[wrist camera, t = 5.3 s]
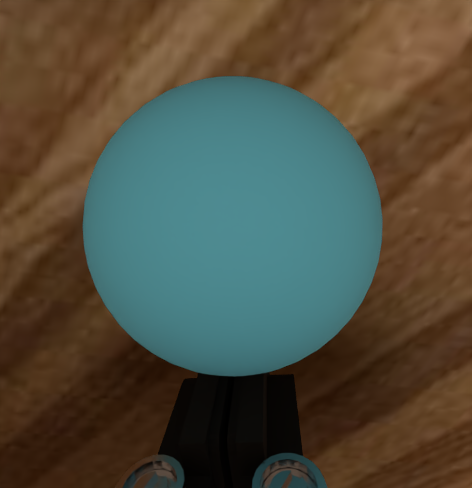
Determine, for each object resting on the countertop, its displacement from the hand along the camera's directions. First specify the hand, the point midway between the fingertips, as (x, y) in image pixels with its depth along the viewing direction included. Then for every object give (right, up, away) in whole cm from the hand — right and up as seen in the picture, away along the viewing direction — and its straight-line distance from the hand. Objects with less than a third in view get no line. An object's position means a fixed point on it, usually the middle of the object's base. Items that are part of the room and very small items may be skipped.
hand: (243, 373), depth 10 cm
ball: (0, +4, -3) cm, 5 cm away
